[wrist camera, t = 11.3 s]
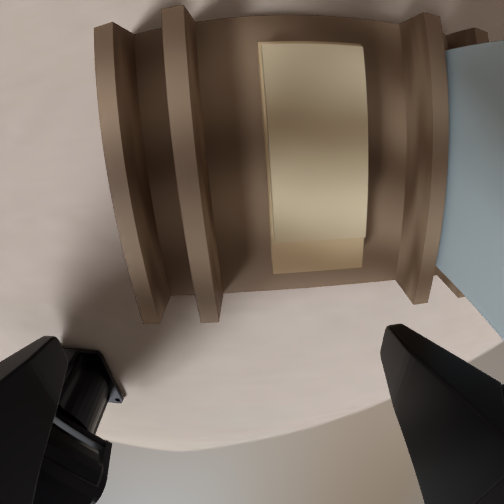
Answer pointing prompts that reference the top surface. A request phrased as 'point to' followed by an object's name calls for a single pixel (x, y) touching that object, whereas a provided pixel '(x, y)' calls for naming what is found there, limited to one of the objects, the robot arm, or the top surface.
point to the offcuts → (315, 153)
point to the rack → (263, 153)
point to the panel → (475, 179)
